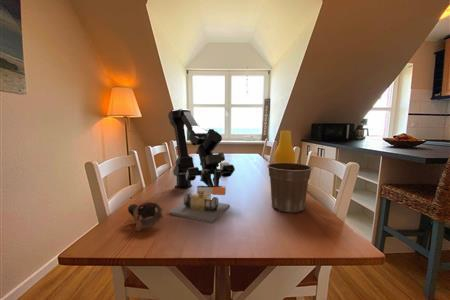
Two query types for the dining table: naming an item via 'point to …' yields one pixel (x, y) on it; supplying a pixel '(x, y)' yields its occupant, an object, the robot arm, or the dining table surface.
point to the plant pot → (289, 186)
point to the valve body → (201, 202)
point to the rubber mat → (200, 212)
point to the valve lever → (211, 190)
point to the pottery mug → (145, 214)
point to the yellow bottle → (284, 149)
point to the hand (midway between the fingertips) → (215, 192)
